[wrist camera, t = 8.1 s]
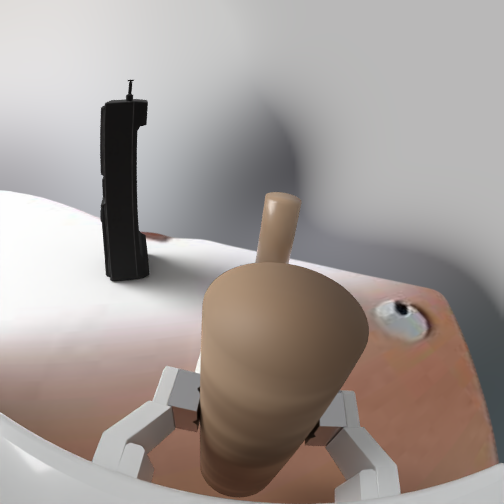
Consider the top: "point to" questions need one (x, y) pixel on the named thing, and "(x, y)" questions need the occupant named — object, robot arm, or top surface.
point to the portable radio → (122, 188)
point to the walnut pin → (270, 368)
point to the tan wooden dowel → (278, 227)
